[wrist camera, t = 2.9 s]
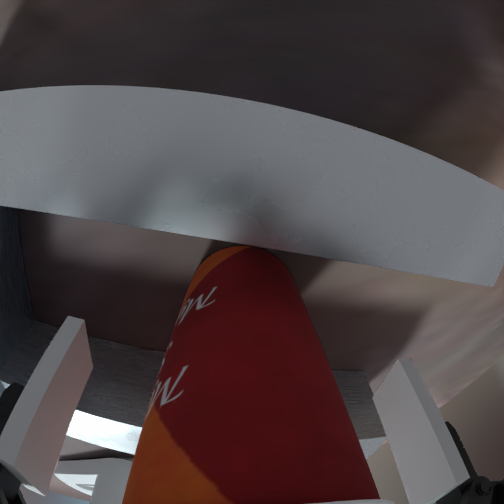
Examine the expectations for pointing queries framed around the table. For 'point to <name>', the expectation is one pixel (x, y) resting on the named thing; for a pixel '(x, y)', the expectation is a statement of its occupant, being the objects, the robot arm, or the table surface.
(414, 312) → the table surface
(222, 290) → the paper cup
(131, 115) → the vise
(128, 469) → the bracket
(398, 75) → the table surface
